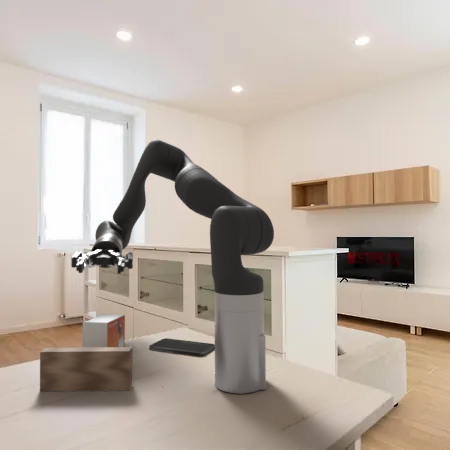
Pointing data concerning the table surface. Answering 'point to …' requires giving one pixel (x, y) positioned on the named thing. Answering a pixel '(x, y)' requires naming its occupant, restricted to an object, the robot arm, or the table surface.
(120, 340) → the small box
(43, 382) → the walnut board
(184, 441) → the table surface
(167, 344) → the phone
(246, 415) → the table surface
